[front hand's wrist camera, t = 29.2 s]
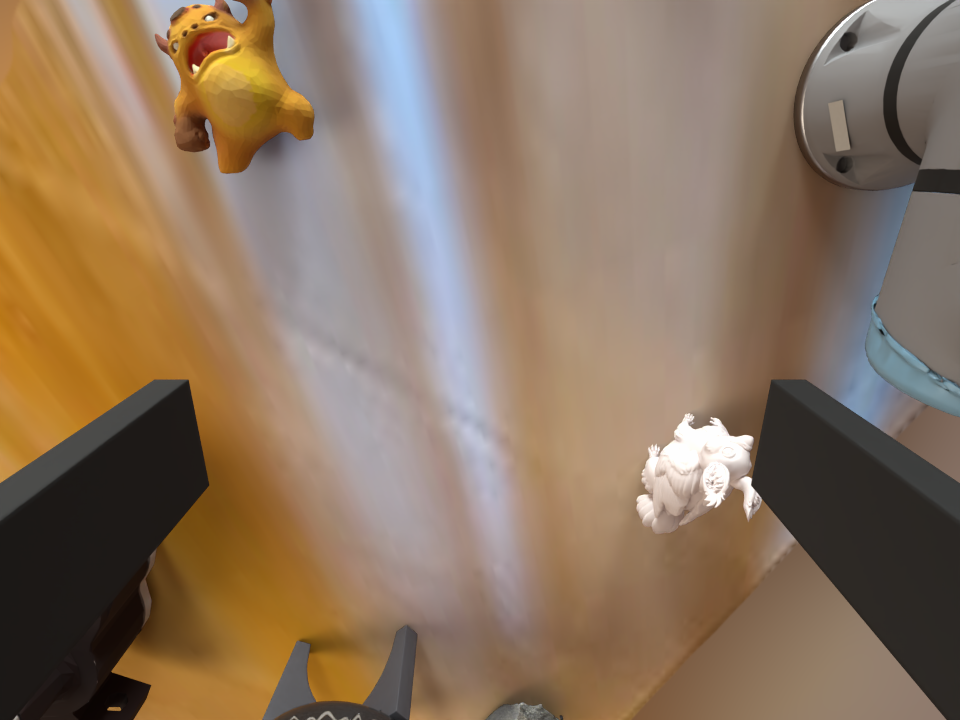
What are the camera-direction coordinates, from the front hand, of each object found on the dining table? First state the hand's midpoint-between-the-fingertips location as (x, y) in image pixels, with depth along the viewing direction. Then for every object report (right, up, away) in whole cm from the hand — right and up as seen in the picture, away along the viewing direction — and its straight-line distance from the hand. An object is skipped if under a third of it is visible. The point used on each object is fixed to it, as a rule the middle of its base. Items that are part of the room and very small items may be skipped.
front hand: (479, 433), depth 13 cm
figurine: (+21, -9, +46) cm, 52 cm away
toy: (-20, +26, +34) cm, 47 cm away
